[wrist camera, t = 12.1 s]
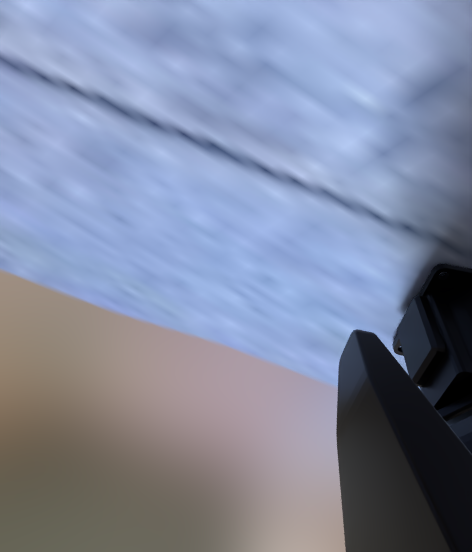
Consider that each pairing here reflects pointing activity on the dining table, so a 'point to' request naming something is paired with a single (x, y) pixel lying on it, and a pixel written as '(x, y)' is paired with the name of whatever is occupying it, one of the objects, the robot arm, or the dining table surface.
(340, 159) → the dining table surface
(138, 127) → the dining table surface
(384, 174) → the dining table surface
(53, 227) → the dining table surface
